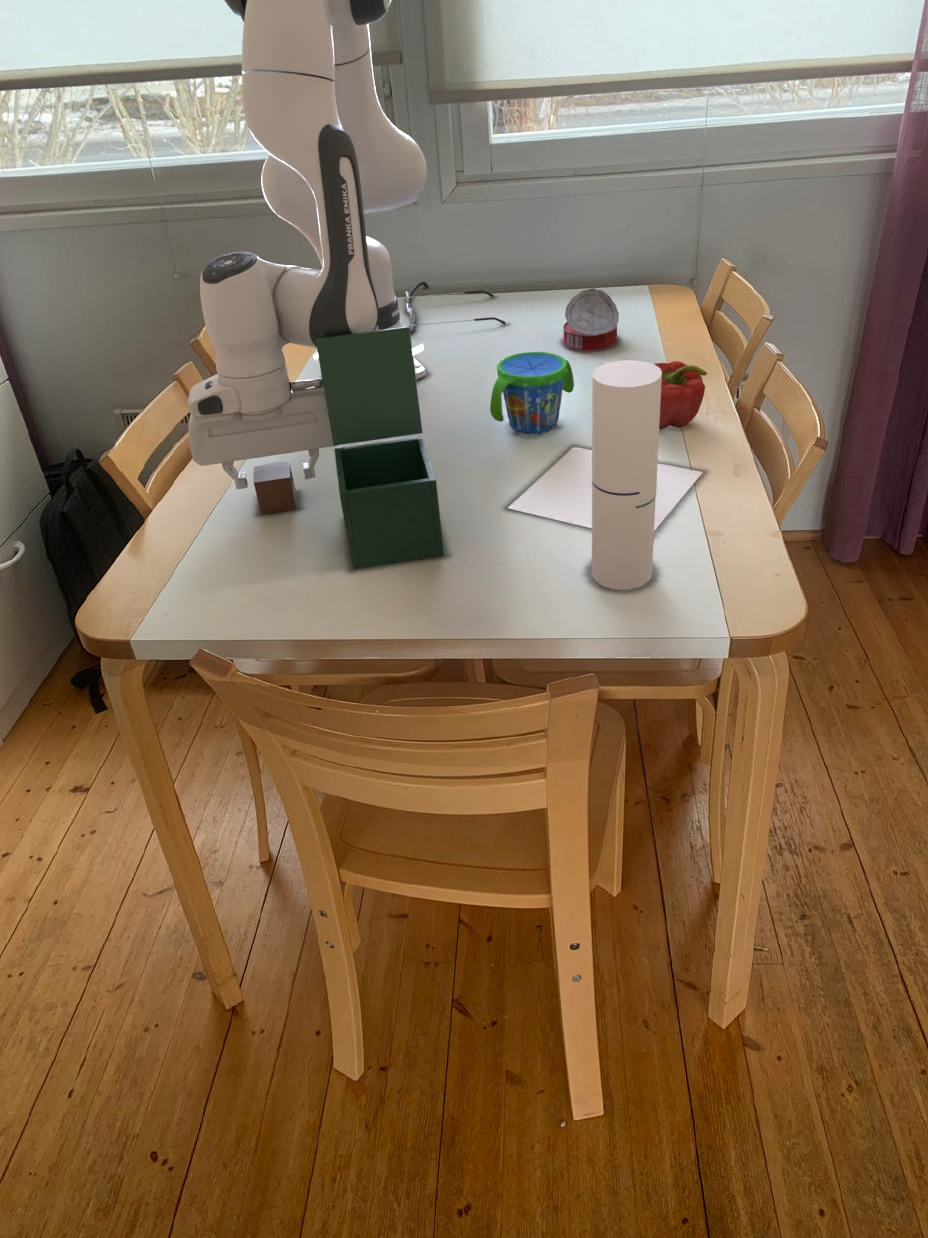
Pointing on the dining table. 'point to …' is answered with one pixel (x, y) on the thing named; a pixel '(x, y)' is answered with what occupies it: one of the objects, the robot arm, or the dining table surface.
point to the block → (275, 487)
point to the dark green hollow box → (389, 502)
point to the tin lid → (370, 385)
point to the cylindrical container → (624, 471)
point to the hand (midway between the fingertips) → (276, 481)
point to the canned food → (590, 321)
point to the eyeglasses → (452, 321)
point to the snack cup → (531, 390)
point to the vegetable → (680, 393)
